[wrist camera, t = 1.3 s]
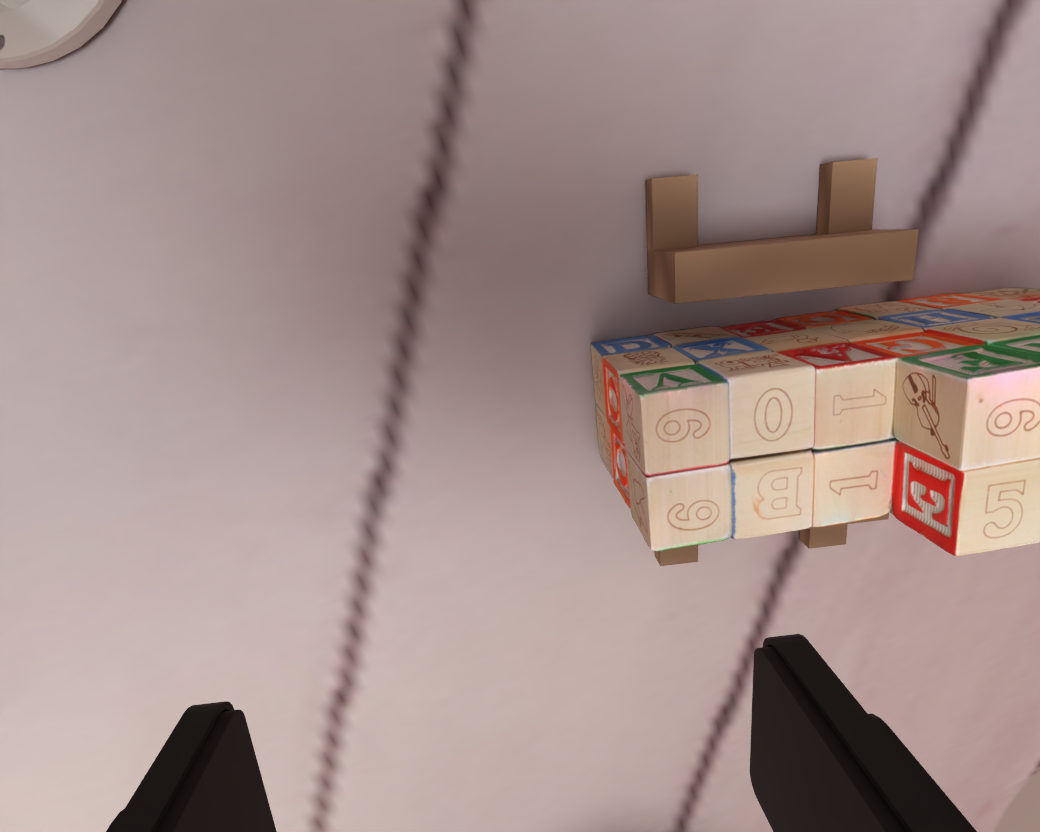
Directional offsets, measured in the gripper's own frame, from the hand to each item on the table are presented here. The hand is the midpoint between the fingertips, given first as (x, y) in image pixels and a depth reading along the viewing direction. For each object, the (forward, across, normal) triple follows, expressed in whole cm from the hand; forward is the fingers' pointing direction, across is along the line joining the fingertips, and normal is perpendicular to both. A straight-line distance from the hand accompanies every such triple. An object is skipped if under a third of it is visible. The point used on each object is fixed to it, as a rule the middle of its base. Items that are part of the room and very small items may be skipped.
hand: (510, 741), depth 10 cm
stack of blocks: (+21, -16, 0) cm, 26 cm away
